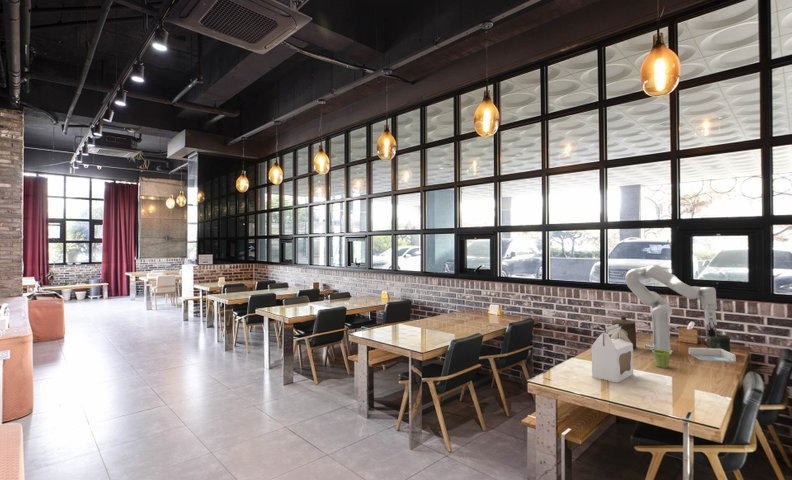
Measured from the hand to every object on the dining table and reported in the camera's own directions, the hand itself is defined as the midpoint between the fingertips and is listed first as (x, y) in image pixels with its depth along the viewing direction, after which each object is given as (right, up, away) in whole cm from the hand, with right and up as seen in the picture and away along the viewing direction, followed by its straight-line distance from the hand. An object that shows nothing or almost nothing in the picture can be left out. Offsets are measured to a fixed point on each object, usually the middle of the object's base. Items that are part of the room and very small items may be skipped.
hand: (711, 335), depth 255 cm
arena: (+1, -15, +1) cm, 15 cm away
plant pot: (-40, -16, -14) cm, 45 cm away
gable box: (-78, -16, -30) cm, 85 cm away
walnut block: (0, 0, 0) cm, 0 cm away
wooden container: (-36, -16, +34) cm, 52 cm away
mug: (+15, -16, +14) cm, 26 cm away
